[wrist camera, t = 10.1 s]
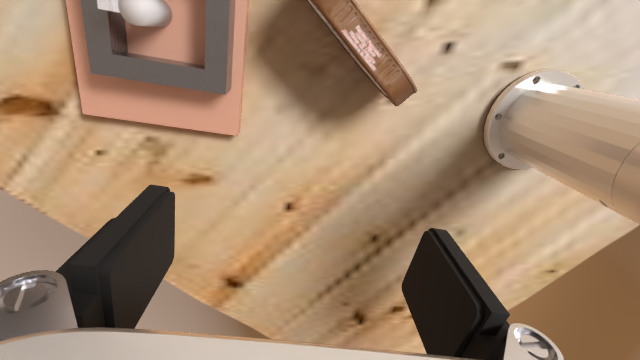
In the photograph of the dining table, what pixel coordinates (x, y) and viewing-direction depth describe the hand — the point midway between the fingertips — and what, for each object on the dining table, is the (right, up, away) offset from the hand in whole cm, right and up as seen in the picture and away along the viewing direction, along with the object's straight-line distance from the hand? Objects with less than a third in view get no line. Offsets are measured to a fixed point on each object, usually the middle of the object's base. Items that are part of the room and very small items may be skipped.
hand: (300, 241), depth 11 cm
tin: (+4, +17, +21) cm, 28 cm away
